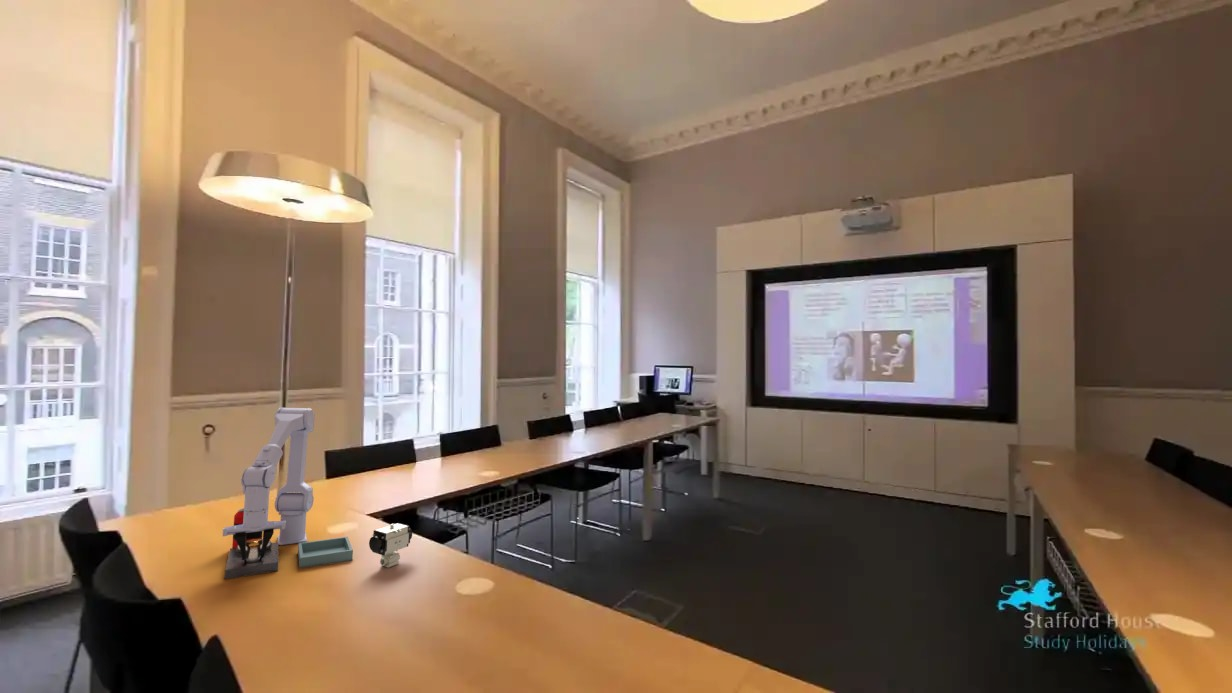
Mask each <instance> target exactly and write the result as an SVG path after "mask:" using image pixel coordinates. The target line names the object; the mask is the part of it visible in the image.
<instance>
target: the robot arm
mask: <svg viewBox="0 0 1232 693" xmlns="http://www.w3.org/2000/svg"><path fill="white" fill-rule="evenodd" d="M273 417H274V430H273V432H272V435H271V438H270V439H269V442H268V444H265V445H263V446H262V447H261V449H260V450H259V452H258V454H257V456H255V457H256V458H255V460H254V461H253V463H252V465H251V466H249V467H248V468H246V469H244V471H243V473H242V475H241V478H240V482H241V483H240V485H241V486H242V493H243V494H244V503H243V504H244V505H243V508H244V518H243V524H241V525H236V526H234V525H231V526H224V527H223V529H222V537H227V536H231V535H232V536H233V534H235V540H236V542H237V543H238V545H239V547H240V550H241V554H242V560H245V559H246V534H247V533H250V532H258V531H263V534H262V539H263V544H262V550H261V558H262V557H264V553H265V550H266V547H267V545H268V543H269V541H271V539H272V537H273V535H274V532H275V531H274V530H279V534H278V535H277V542H278V546H283V545H291V544H298V543H303V542H308V539H307V533H306V526H307V513H308V512H309V511H310V510H311V509H312V508H313V506H314V493H313V492H314V490H313V489H314V488H313V487H312V486H311V485H309V484H308V483H306V482H305V474H306V473H305V472H306V463H307V462H306V461H307V454H308V453H307V451H308V450H307V449H308V441H309V440H308V438H309V434H310V433H312V432H313V431H314V427H315V413H314V410H313V409H312V408H311V407H307V408H306V407H305V408H303V407H284V406H283V407H282V406H281V407H278V409H277V410H276V411H275V414H274V416H273ZM289 437H290V439H289ZM288 439H289V440H290V441H289V453H288V462H287V463H288V464H287V473H286V475H287V477H286V484H284V485H283V486H281V487H280V488H278V490H277V494H276V497H275V501H274V509H275V511H276V512H277V513H278V515H279V516H280V520H274V521H273V520H270V521H269V520H268V519H269V507H270V506H269V504H270V489H271V486H272V485H273V483H274V481H275V479H276V473H277V466H278V463H279V462H280V460H281V459H282V456H283V455H284V454H283V453H284V451H283V450H282V448H283V446H284V445H285V443H286V442H287V440H288Z"/></svg>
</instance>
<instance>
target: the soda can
mask: <svg viewBox="0 0 1232 693" xmlns="http://www.w3.org/2000/svg"><path fill="white" fill-rule="evenodd" d="M243 518H244V507H243V508H240V509H239V510H238V511H237V512H236V513H235V514H234V517H233V526H236V525H241V524H243ZM253 539H263V531H258V532H250V533H247V534H246V541H249V540H253ZM231 545H232V546H231V548H237V546H238V543H237V542H236V540H235V534H233V535H232V544H231Z"/></svg>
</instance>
